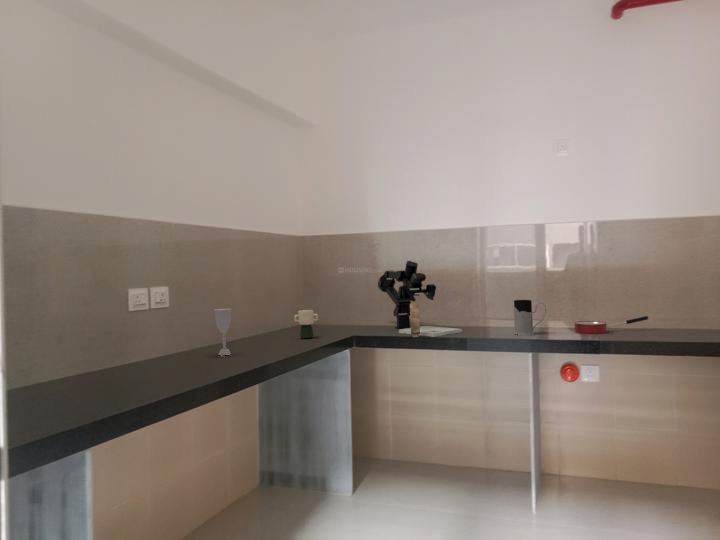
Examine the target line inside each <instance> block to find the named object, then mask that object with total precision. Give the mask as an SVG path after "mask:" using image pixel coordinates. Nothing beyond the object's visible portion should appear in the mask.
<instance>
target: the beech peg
mask: <svg viewBox="0 0 720 540" xmlns="http://www.w3.org/2000/svg"><path fill="white" fill-rule="evenodd" d="M409 319H410V326H411V334H410V335H411V337H412V338H419V337H420V335H419V334H420V327H421V325H420V303H418V302H417V303H416V302H413V303H412V302H411V304H410V316H409Z"/></svg>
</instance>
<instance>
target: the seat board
mask: <svg viewBox="0 0 720 540" xmlns="http://www.w3.org/2000/svg"><path fill="white" fill-rule="evenodd" d="M399 333H400V334H405V333H406V334H408V335H412V334H411V328H405V329H401V328H399V329H398V334H399ZM458 333H459V334H460V333H463V329H462V328H453V327H445V326H434V325H422V326H421V325H420V334H419V336H423V337H424V336H425V337H430V338H431V337H432V338H434V337H441V336H448V335H453V334H458Z"/></svg>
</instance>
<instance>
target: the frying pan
mask: <svg viewBox="0 0 720 540" xmlns="http://www.w3.org/2000/svg"><path fill="white" fill-rule="evenodd" d="M647 320H649V316H647V315H646V316H641V317H636V318H631V319H627V320H625V321H620V322H617V323H611V324H607V322H605V321H600V320H599V321H597V320H592V321H591V320H580V321H575V322H573V323H574V332H575V333H576V334H581V335H582V334H583V335H604V334H607V332H608V331H607V329H609V328H613V327H617V326H623V325H628V324H629V325H630V324H633V323H637V322H638V323H639V322H642V321H643V322H644V321H647Z"/></svg>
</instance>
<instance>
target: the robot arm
mask: <svg viewBox="0 0 720 540" xmlns="http://www.w3.org/2000/svg"><path fill="white" fill-rule="evenodd" d="M418 265H419V264H418V262H414V261H412V260H407V261H406V262H405V270H397V271H396V270H385V271H384V273H383V274H382V276H380V277H379V278H378V282H377V287H378V289H379V290H380V291H381V292H383V293H386V294H387V295H388V296H389V298H390V299H391V300H392V302H393V304H395V307H394V309H393V313H392V315H393V317H395V318H396V326H394V329H407V328H411V318H410V304H411V303H412V302H416V299H417V298H416V297H415V296H420V295H425V297H426V298H427V299H428V300H431V301H434V297H436V296H435V295H436V289H437V286H436V285H435V284H433V283H432V284H430V283H429V284H426V287H425V288H423V282H425V281H426V279H427V277H426V275H425V274H424V273H421V272H417V271H418ZM396 282H399V283H402V285H399V287H398V290H397V289H396V288H395V284H396Z"/></svg>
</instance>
